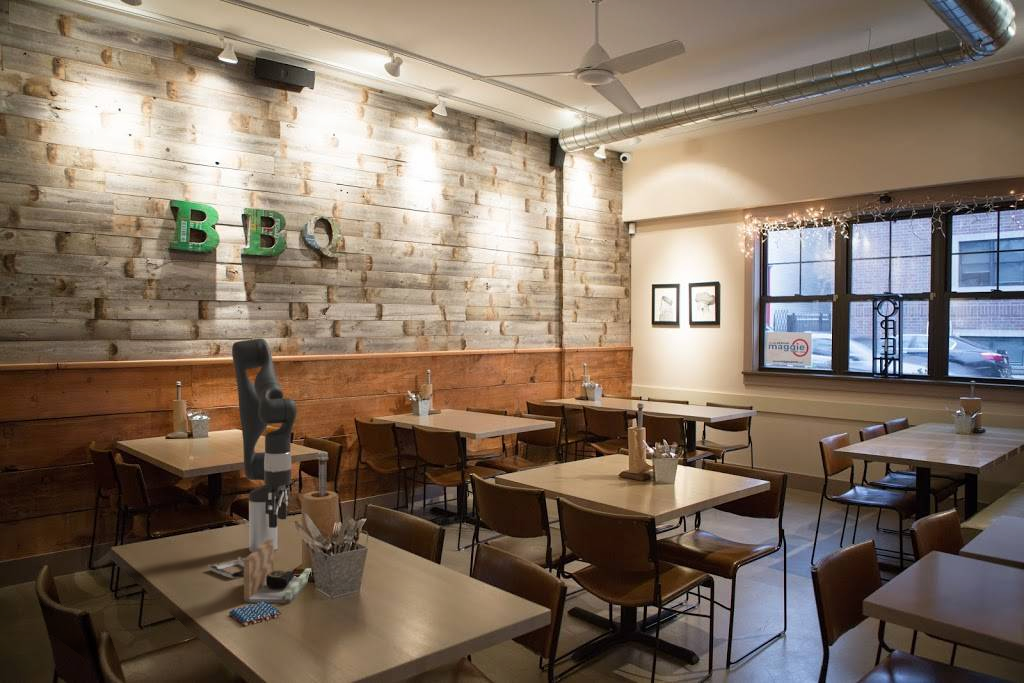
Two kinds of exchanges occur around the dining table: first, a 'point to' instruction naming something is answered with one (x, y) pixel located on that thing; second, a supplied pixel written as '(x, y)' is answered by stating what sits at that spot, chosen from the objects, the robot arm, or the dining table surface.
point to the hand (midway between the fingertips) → (278, 523)
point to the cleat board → (257, 572)
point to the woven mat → (255, 613)
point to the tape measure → (279, 578)
